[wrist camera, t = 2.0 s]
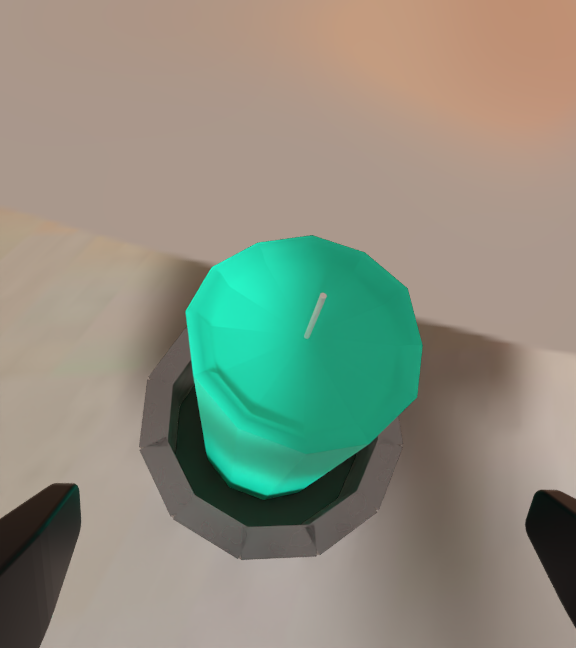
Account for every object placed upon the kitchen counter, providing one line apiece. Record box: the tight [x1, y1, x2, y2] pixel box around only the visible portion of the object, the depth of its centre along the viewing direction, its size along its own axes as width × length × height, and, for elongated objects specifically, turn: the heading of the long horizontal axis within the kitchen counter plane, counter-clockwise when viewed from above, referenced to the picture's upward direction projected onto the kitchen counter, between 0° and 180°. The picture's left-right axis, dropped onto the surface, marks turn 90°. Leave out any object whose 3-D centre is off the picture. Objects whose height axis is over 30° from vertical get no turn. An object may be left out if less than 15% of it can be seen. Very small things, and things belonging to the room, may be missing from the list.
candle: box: [185, 235, 423, 500], centre depth 14 cm, size 6×6×12 cm
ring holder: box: [139, 327, 403, 560], centre depth 18 cm, size 10×10×3 cm
